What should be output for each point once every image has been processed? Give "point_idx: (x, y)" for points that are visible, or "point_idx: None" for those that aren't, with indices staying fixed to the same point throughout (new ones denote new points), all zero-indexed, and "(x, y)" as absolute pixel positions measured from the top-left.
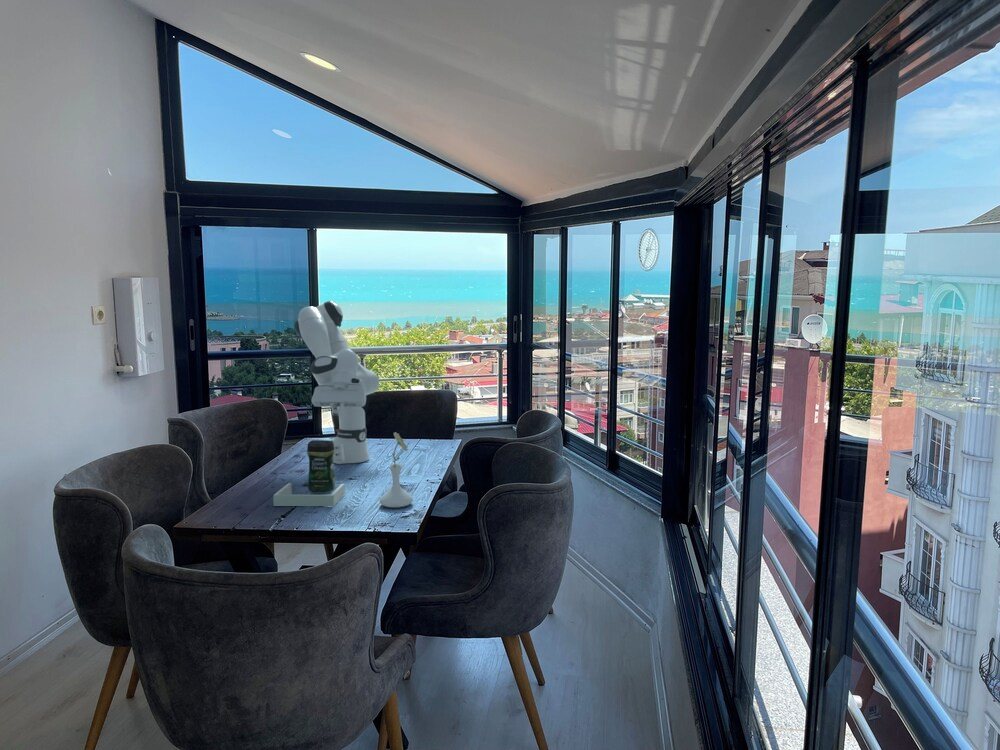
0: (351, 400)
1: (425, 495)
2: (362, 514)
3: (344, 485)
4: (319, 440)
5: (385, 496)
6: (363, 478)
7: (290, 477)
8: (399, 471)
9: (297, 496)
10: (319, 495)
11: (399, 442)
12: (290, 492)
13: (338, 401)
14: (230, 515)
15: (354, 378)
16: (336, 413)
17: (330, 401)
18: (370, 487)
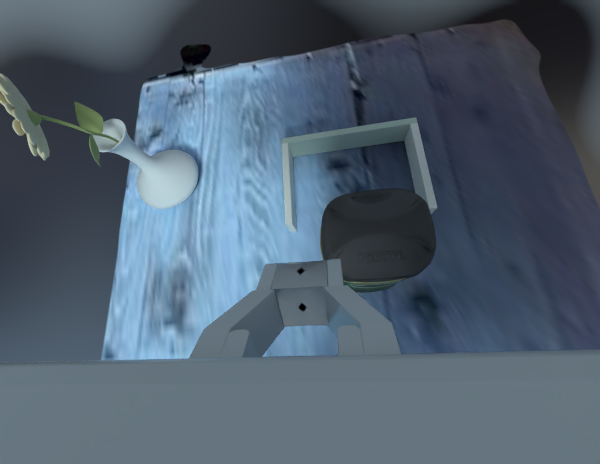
0: (35, 374)
1: (125, 249)
2: (224, 129)
3: (286, 225)
4: (382, 225)
5: (178, 157)
6: None
7: None
8: (110, 139)
9: (358, 128)
10: (310, 134)
11: (29, 110)
12: None
13: (254, 357)
14: (465, 77)
15: None
16: (291, 264)
17: (406, 356)
18: None
